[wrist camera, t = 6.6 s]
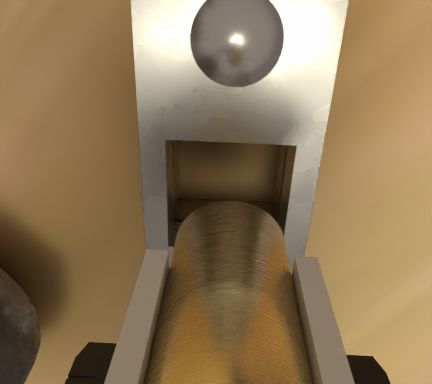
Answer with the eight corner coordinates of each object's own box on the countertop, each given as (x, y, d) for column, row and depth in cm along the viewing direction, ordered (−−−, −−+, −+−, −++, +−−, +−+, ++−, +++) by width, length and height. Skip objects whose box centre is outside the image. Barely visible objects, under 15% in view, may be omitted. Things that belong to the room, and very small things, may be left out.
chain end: (161, 213, 26) (144, 272, 21) (148, -134, 18) (113, -181, 12) (289, 219, 26) (303, 280, 21) (338, -127, 17) (385, -172, 12)
